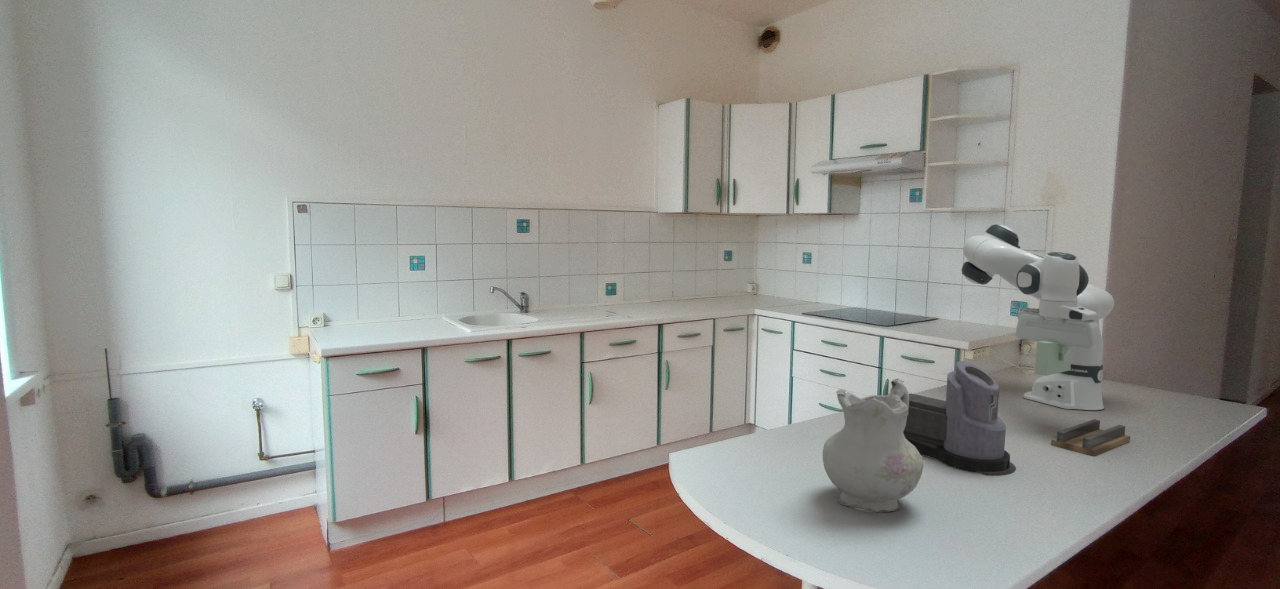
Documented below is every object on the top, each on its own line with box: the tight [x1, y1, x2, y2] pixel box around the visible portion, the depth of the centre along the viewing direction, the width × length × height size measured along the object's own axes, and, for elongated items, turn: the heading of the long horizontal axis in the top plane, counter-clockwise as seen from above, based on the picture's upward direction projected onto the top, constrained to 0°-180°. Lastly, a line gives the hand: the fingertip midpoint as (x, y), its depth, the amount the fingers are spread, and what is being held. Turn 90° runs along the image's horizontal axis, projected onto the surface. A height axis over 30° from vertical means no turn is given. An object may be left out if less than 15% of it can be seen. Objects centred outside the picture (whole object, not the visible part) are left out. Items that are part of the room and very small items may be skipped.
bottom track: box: [1050, 418, 1131, 457], centre depth 169 cm, size 10×22×4 cm, turn 123°
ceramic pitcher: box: [822, 378, 924, 513], centre depth 131 cm, size 22×20×25 cm
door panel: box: [1034, 340, 1072, 376], centre depth 177 cm, size 3×14×9 cm, turn 123°
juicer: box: [903, 360, 1017, 477], centre depth 158 cm, size 30×16×24 cm, turn 37°
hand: (1053, 359), depth 177 cm, fingers closed on door panel, 3 cm apart
